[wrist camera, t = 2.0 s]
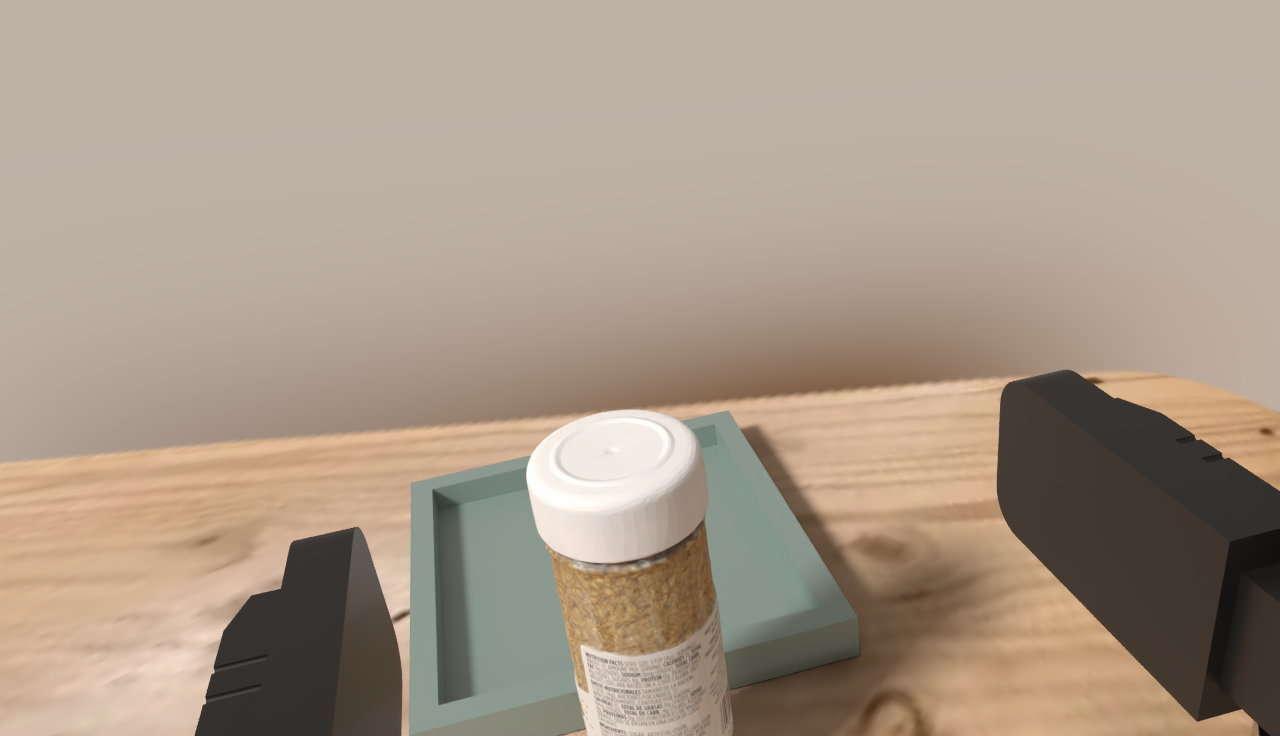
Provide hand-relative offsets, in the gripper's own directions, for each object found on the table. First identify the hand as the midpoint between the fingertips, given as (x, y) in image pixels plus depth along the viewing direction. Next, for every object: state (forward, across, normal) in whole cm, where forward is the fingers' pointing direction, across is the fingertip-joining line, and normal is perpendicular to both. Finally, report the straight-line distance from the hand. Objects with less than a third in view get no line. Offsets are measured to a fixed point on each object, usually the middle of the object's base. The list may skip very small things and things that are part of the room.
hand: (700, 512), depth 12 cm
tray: (+23, 0, +19) cm, 30 cm away
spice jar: (+11, 0, +19) cm, 22 cm away
